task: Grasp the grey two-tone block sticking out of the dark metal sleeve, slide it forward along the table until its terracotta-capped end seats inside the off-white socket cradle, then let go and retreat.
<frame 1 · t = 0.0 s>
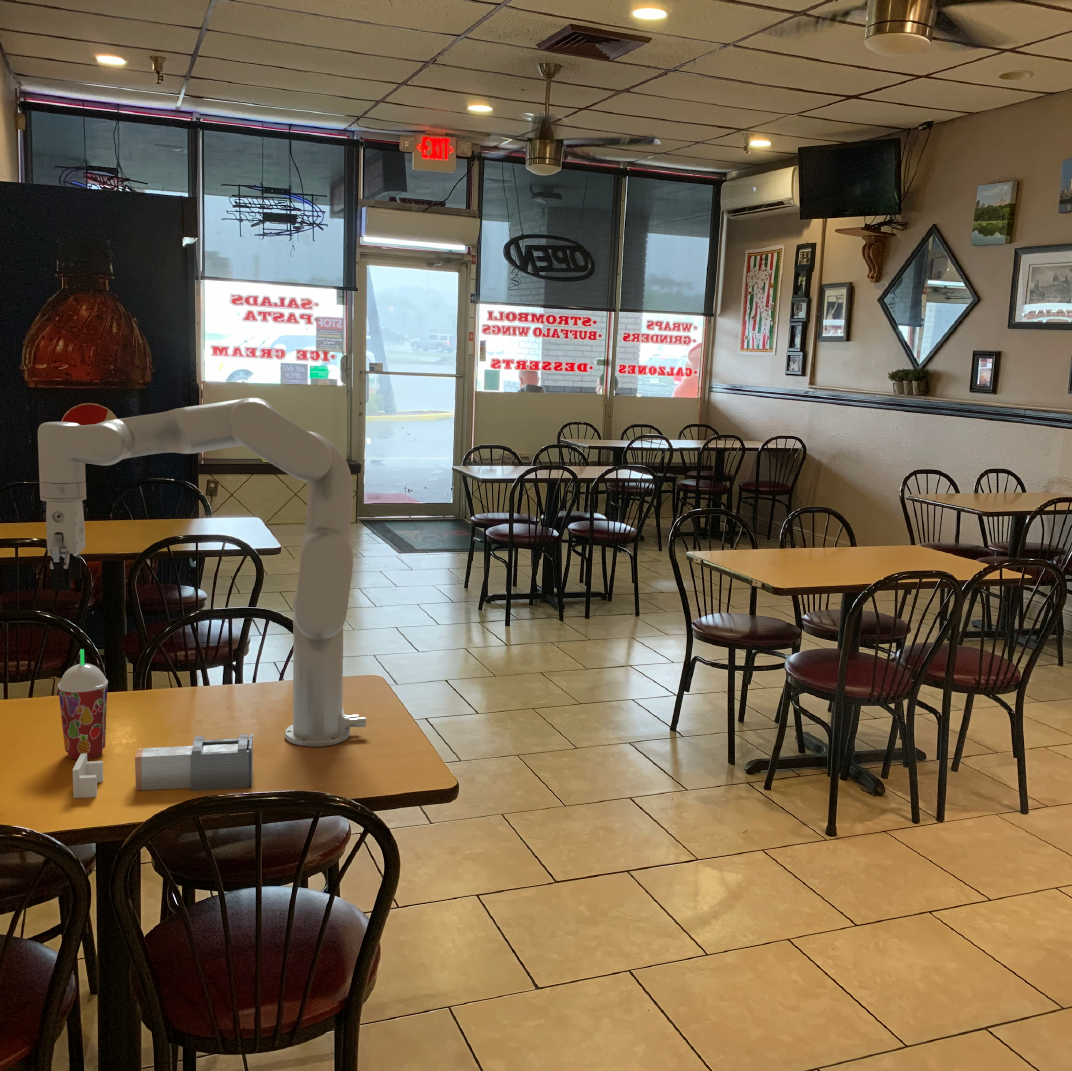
hand: (66, 584, 186), 31 cm above the table, fingers open, 9 cm apart
smoothie: (85, 755, 188), on the table
sleeve: (222, 781, 179), on the table
socket: (90, 788, 173), on the table
grey two-tone block: (190, 766, 177), point 3 cm above the table, slide at 0.0 cm
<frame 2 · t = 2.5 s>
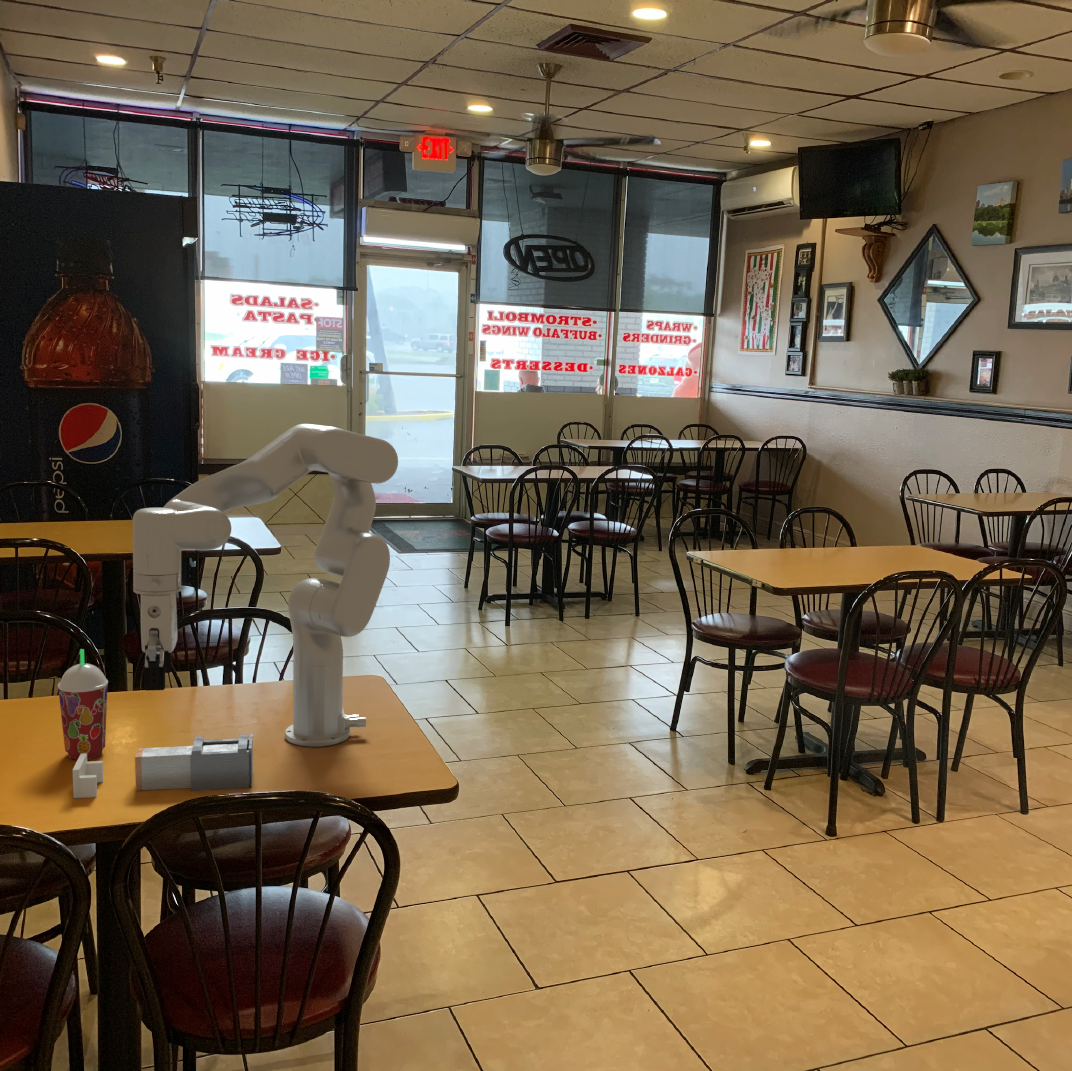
hand: (158, 680, 173), 19 cm above the table, fingers open, 9 cm apart
nothing on the table moved.
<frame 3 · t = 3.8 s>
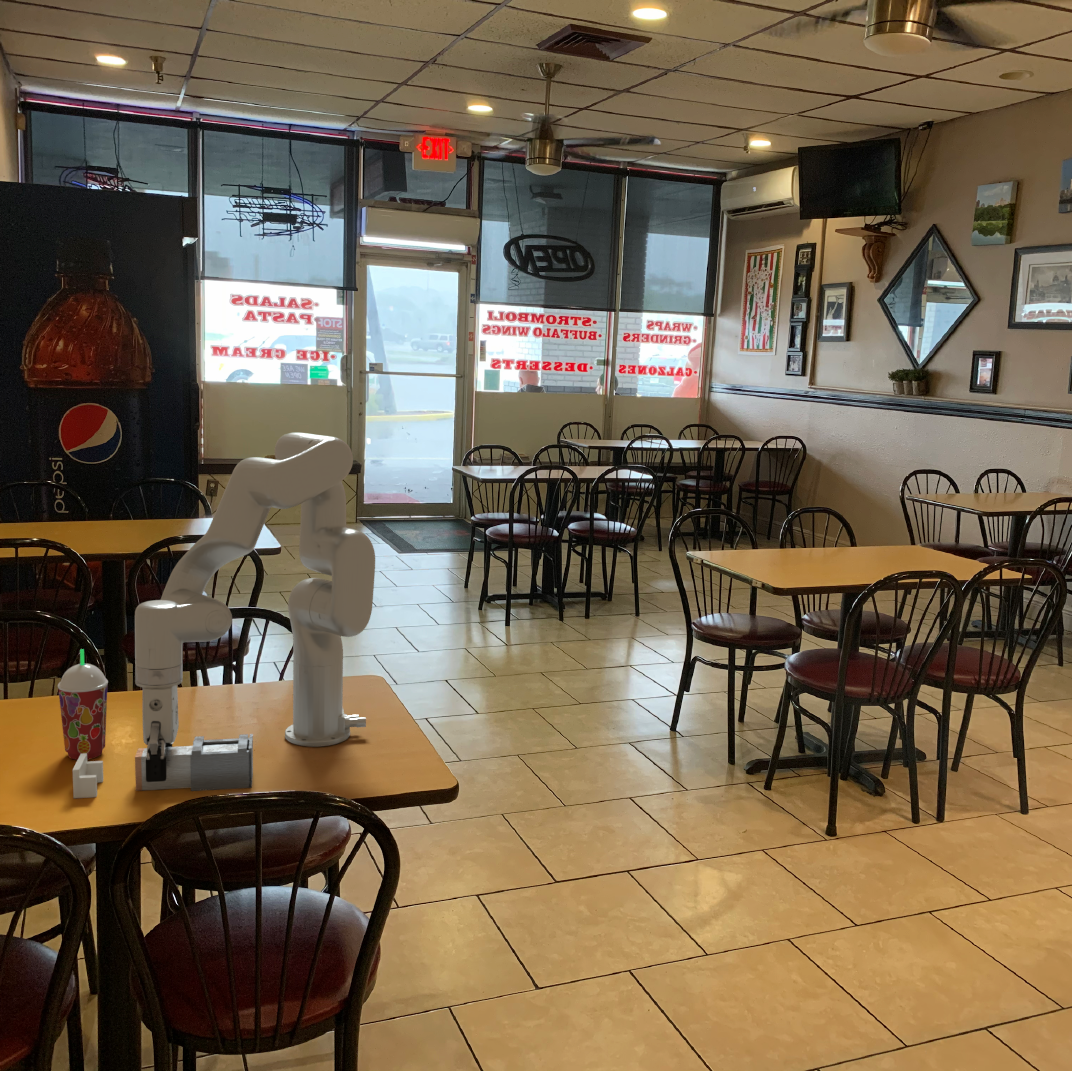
hand: (159, 769, 175), 3 cm above the table, fingers open, 9 cm apart
nothing on the table moved.
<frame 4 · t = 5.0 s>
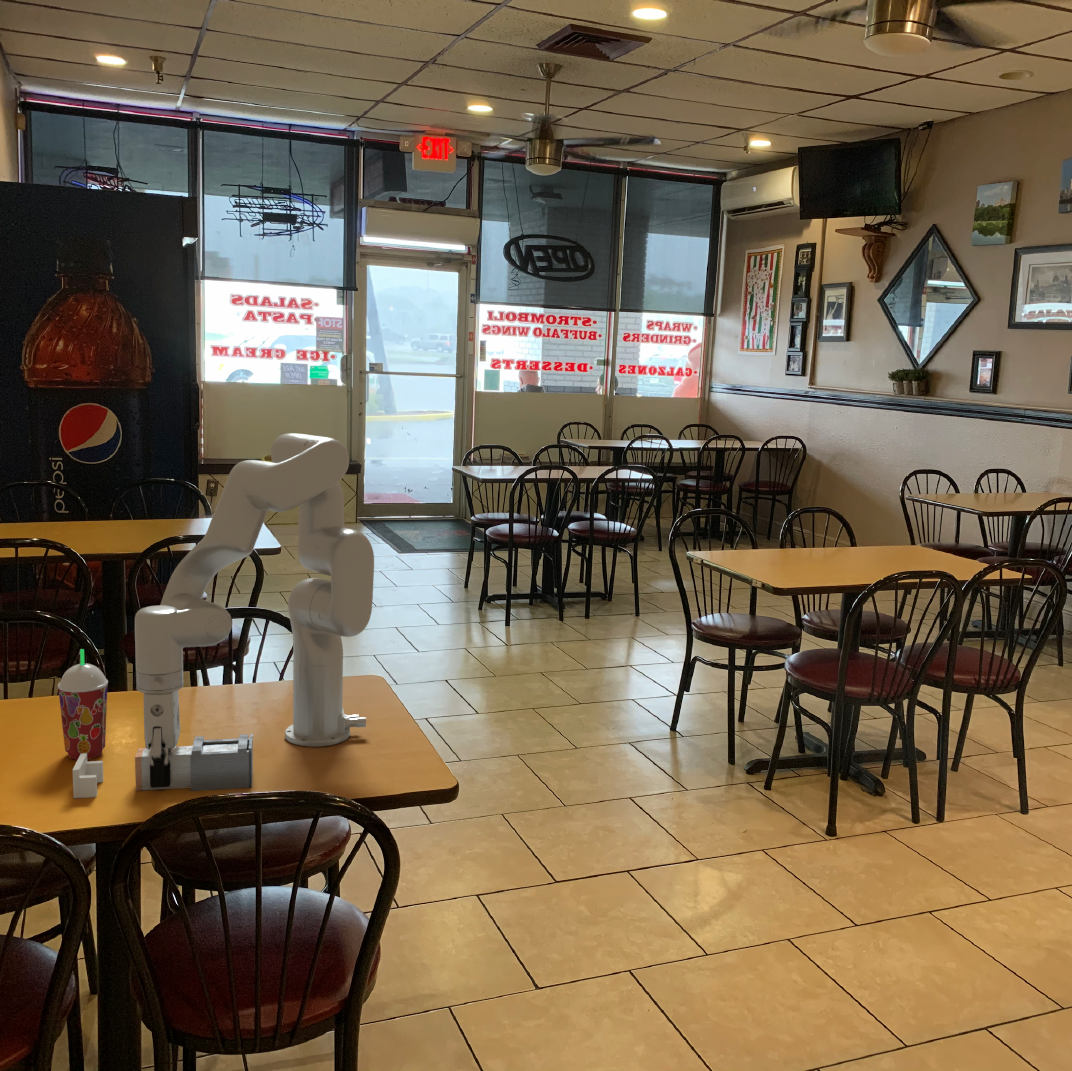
hand: (161, 779, 176), 1 cm above the table, fingers closed on grey two-tone block, 4 cm apart
grey two-tone block: (190, 766, 177), point 3 cm above the table, slide at 0.0 cm, touching gripper
everything else where it was.
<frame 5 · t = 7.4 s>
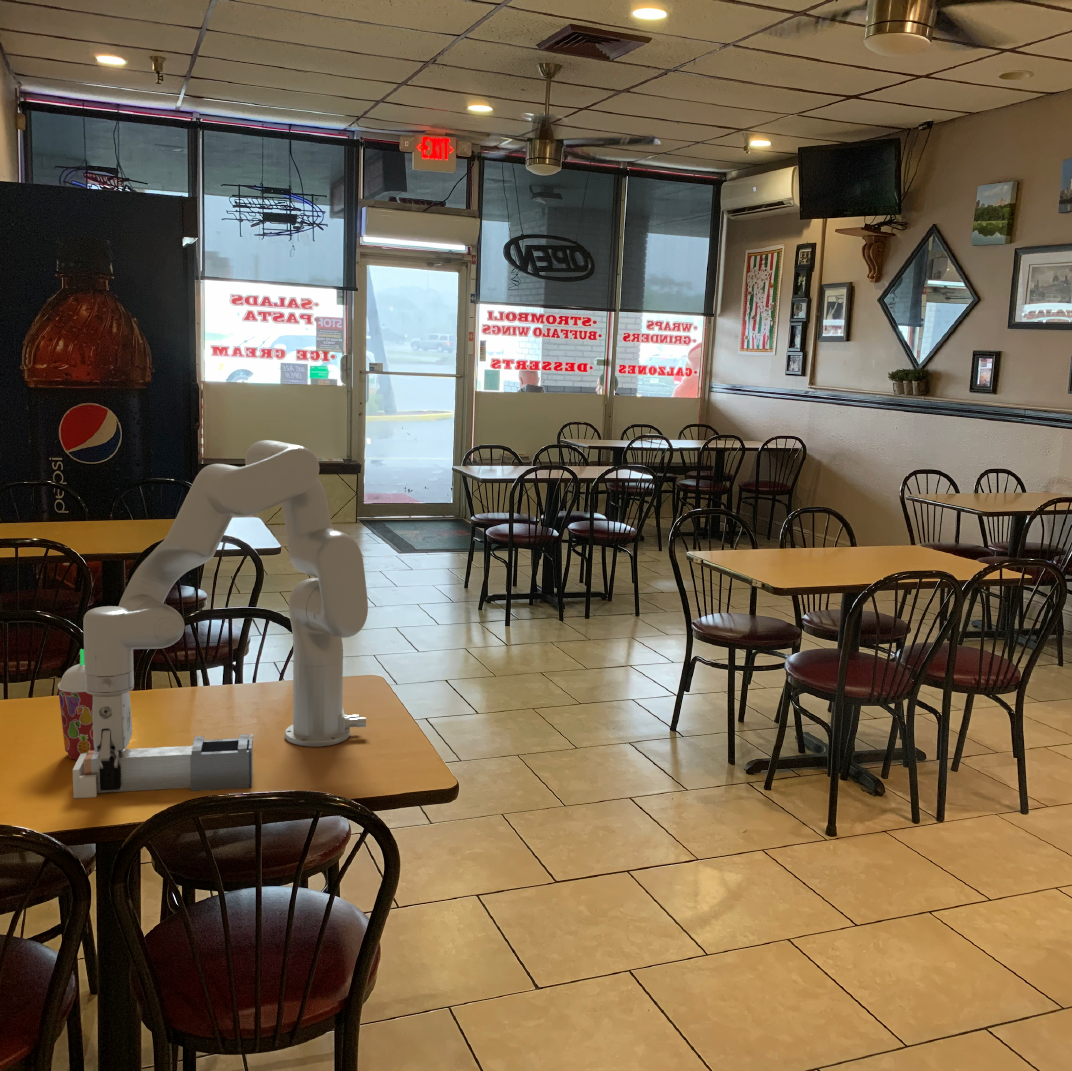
hand: (112, 782, 174), 1 cm above the table, fingers closed on grey two-tone block, 4 cm apart
grey two-tone block: (142, 769, 175), point 3 cm above the table, slide at 7.9 cm, touching gripper
everything else where it was.
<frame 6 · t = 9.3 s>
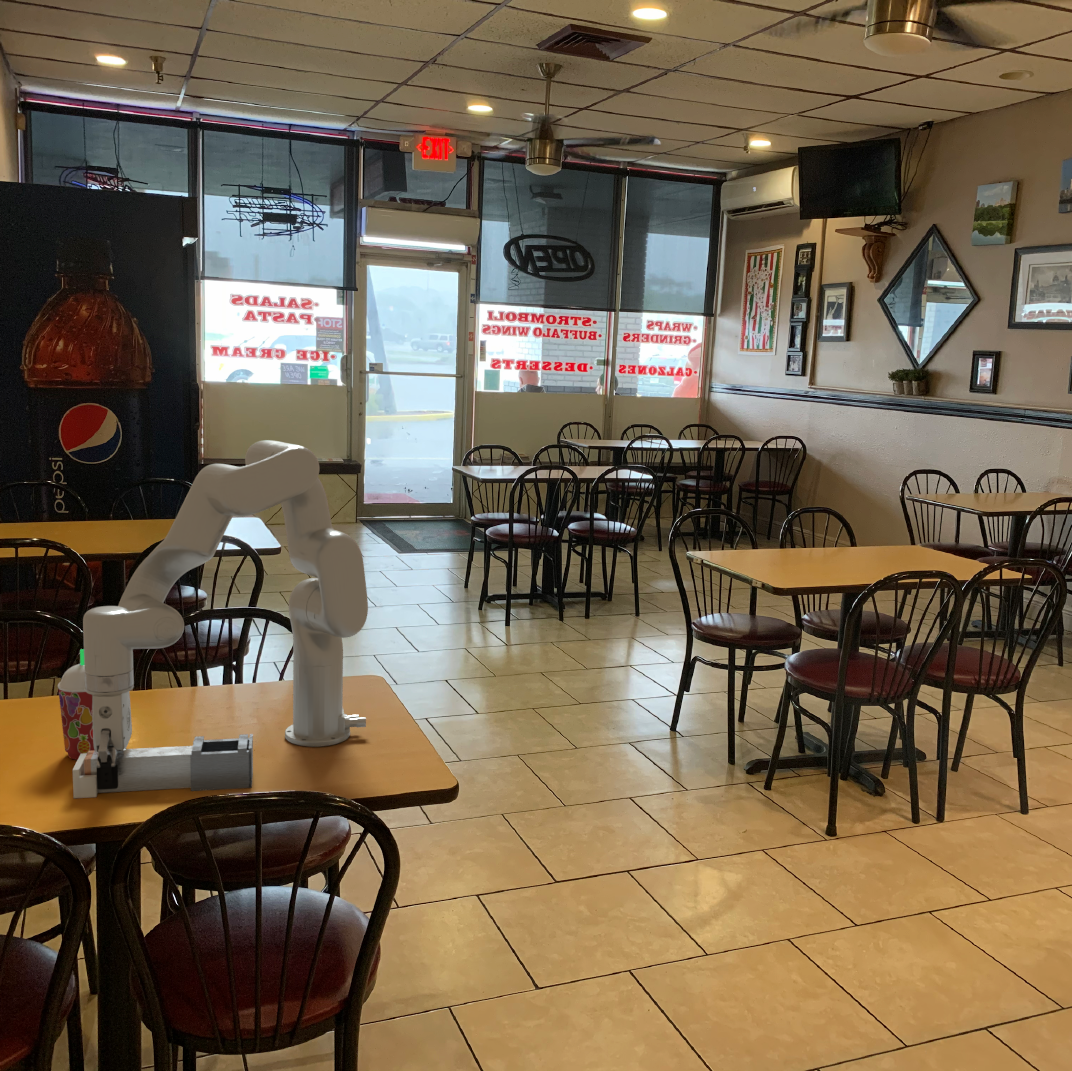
hand: (112, 776, 174), 2 cm above the table, fingers open, 9 cm apart
grey two-tone block: (141, 769, 175), point 3 cm above the table, slide at 8.0 cm
everything else where it was.
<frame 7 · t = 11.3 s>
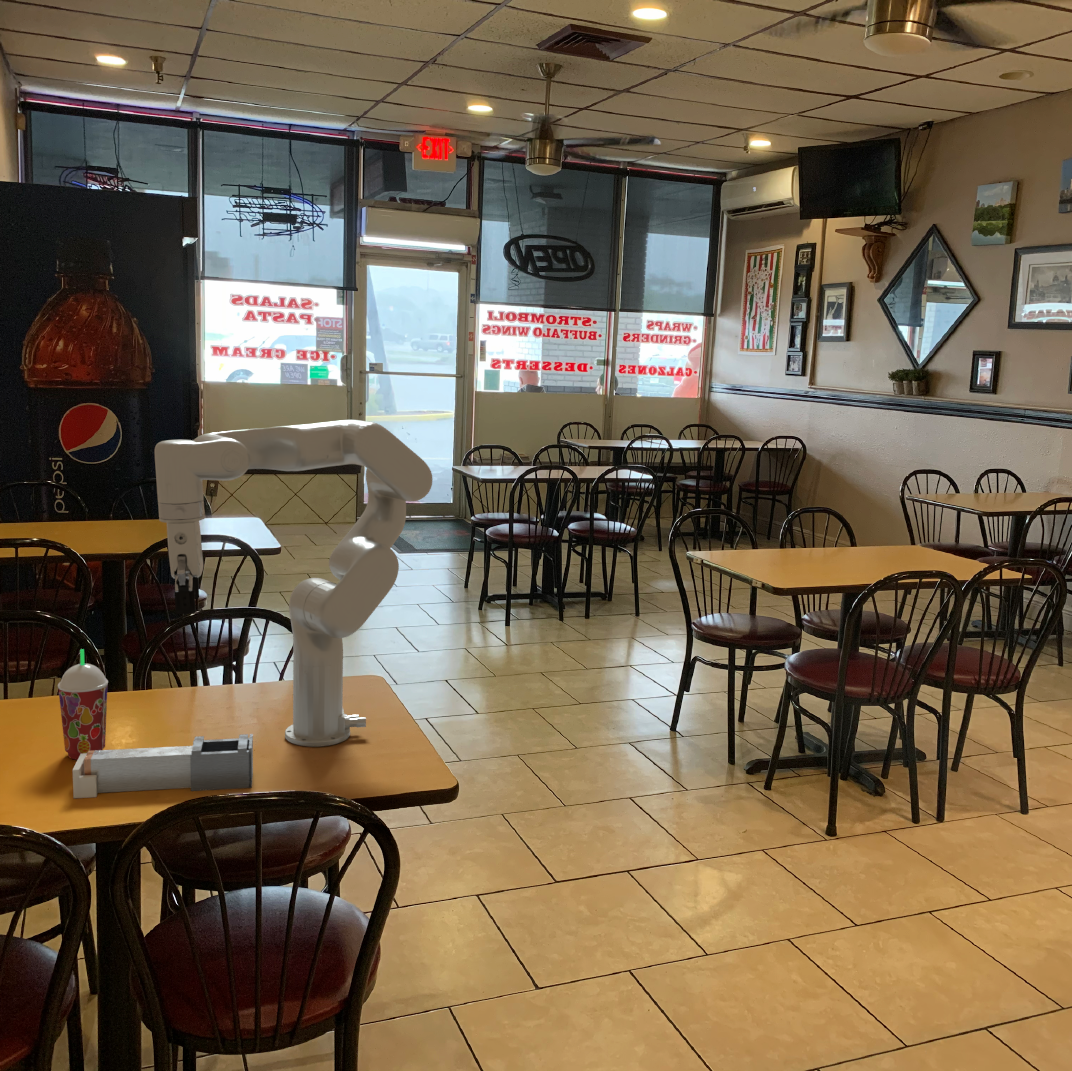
hand: (188, 606, 181), 29 cm above the table, fingers open, 9 cm apart
nothing on the table moved.
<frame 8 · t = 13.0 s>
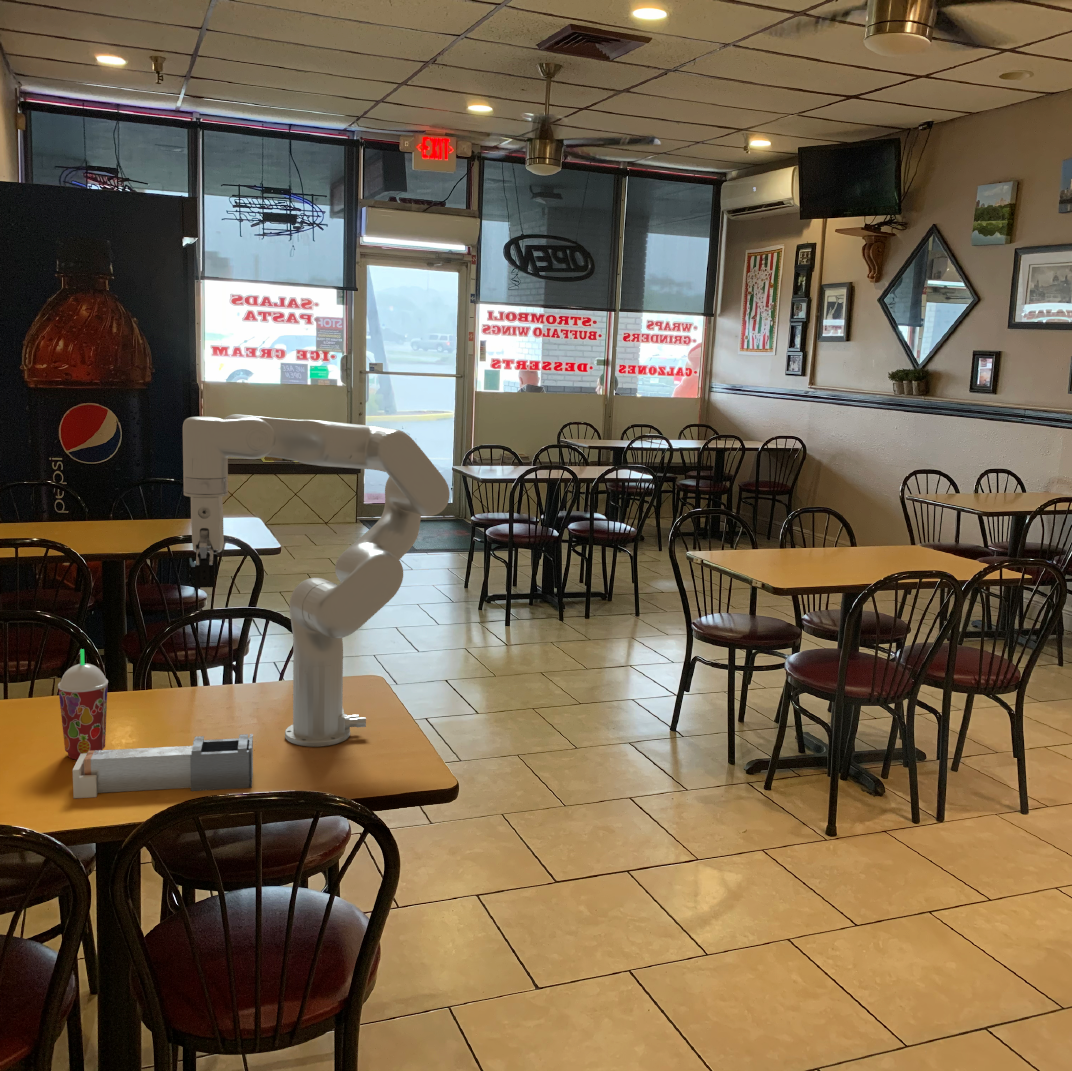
hand: (207, 581, 184), 33 cm above the table, fingers open, 9 cm apart
nothing on the table moved.
at the end: grey two-tone block slide at 8.0 cm; the gripper is holding nothing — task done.
